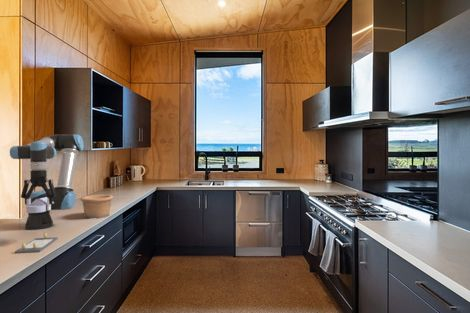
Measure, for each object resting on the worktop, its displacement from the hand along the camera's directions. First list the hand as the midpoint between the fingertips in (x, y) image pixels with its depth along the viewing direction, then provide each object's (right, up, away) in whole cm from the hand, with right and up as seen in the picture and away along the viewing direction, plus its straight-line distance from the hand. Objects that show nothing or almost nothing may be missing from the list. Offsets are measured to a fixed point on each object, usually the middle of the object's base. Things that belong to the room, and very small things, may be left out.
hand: (38, 210), depth 169 cm
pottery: (+6, -15, +58) cm, 61 cm away
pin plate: (+5, -17, -9) cm, 20 cm away
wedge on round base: (0, -1, 0) cm, 1 cm away
